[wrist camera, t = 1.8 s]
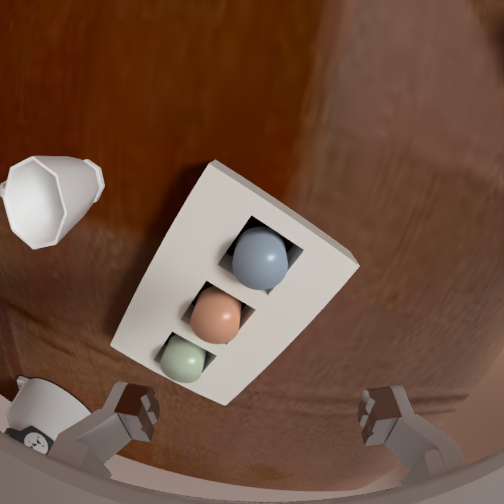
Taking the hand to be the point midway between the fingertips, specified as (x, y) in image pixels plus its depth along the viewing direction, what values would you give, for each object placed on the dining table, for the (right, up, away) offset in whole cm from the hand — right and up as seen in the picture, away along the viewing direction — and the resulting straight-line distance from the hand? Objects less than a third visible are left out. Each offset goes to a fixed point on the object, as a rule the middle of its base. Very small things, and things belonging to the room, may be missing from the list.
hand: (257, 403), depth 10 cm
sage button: (-7, -4, +19) cm, 20 cm away
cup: (-17, +12, +14) cm, 25 cm away
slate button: (0, +6, +14) cm, 15 cm away
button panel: (-3, +1, +18) cm, 18 cm away
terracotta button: (-3, +1, +16) cm, 17 cm away
